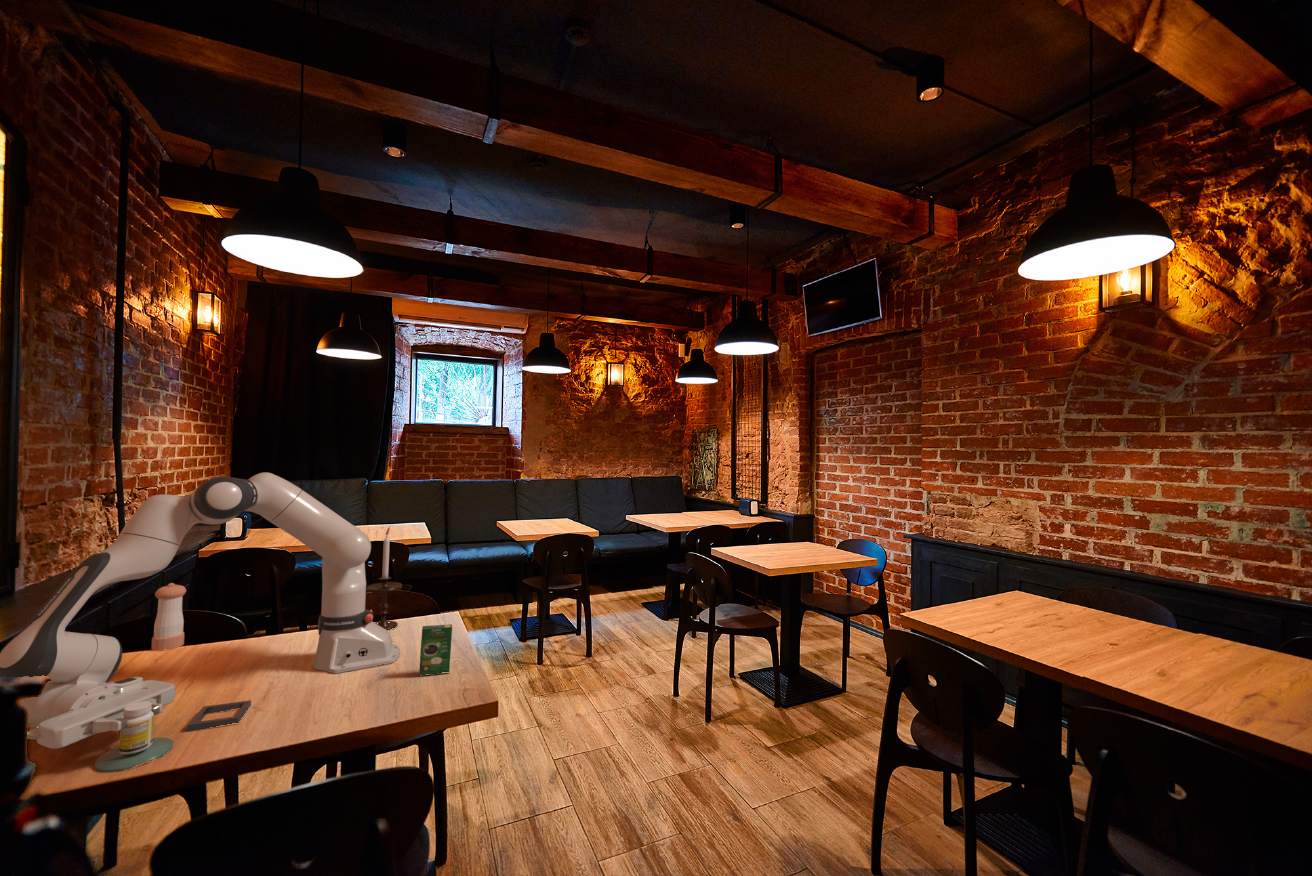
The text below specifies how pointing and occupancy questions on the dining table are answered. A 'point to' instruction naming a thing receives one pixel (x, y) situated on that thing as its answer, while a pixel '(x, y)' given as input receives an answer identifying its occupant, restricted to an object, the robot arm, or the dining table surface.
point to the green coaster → (132, 756)
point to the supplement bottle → (137, 728)
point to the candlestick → (385, 587)
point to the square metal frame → (198, 724)
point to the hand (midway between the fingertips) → (141, 717)
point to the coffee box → (435, 649)
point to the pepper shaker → (169, 618)
